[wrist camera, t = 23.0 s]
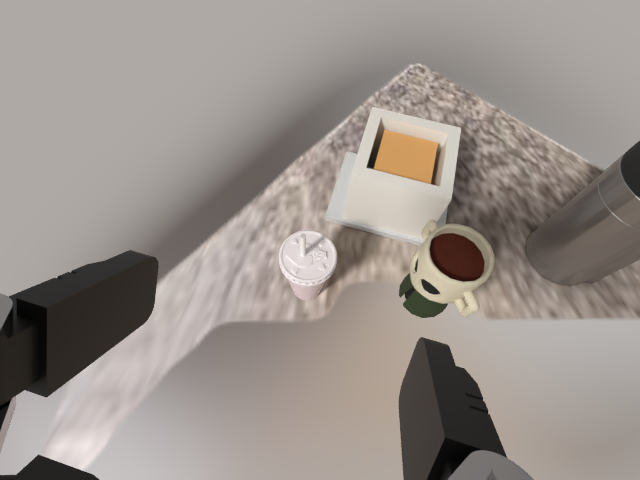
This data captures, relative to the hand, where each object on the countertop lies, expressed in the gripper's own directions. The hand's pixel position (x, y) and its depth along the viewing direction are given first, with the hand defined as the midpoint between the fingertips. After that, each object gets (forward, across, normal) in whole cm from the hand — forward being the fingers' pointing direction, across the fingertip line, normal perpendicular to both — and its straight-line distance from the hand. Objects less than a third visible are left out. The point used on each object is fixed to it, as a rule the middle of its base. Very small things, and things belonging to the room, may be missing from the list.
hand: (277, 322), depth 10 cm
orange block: (+44, -5, 0) cm, 44 cm away
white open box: (+46, -5, +2) cm, 46 cm away
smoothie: (+34, +3, +14) cm, 37 cm away
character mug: (+36, -12, +12) cm, 40 cm away
